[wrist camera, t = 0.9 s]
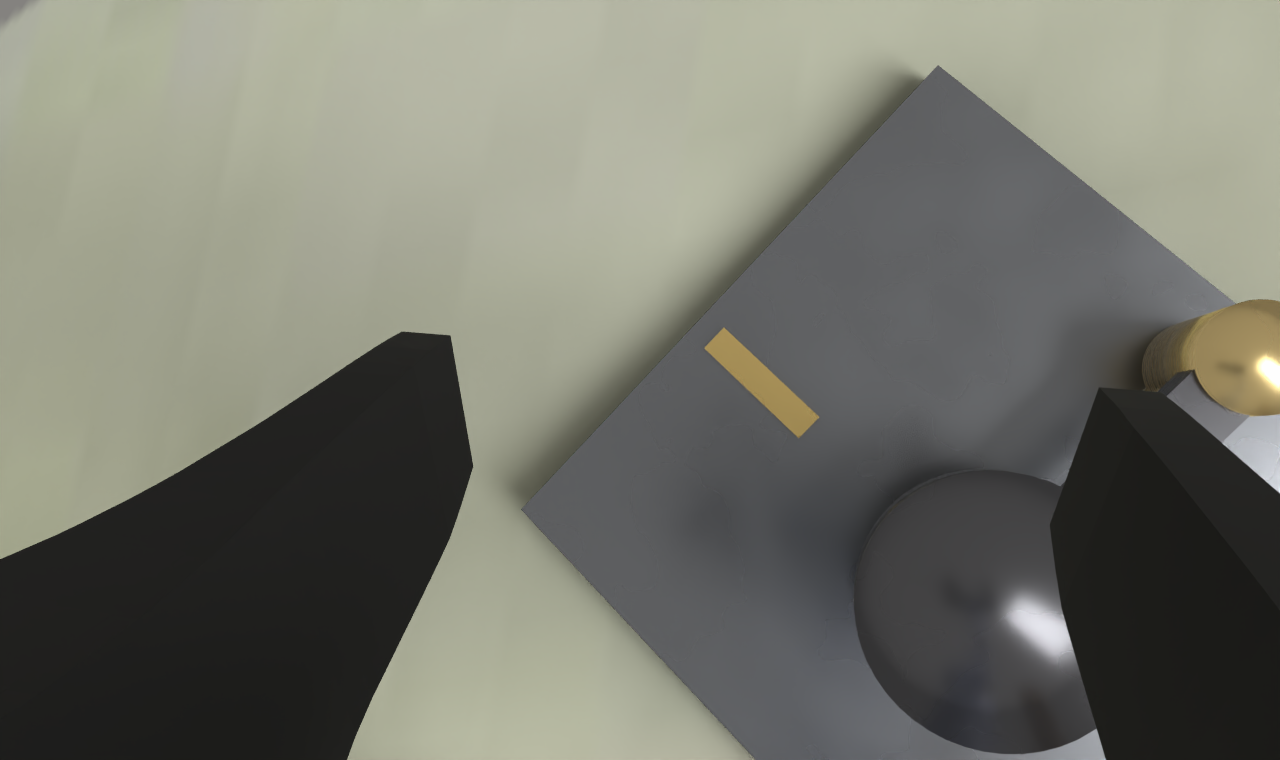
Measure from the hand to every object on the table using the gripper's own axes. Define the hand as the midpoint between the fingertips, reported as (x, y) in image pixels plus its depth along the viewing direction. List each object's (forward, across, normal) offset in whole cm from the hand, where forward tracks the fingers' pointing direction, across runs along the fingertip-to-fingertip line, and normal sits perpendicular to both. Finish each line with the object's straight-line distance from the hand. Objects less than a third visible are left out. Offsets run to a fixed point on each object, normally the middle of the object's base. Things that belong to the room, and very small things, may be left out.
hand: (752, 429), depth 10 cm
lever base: (+11, -5, +11) cm, 16 cm away
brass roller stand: (+9, -7, +9) cm, 15 cm away
